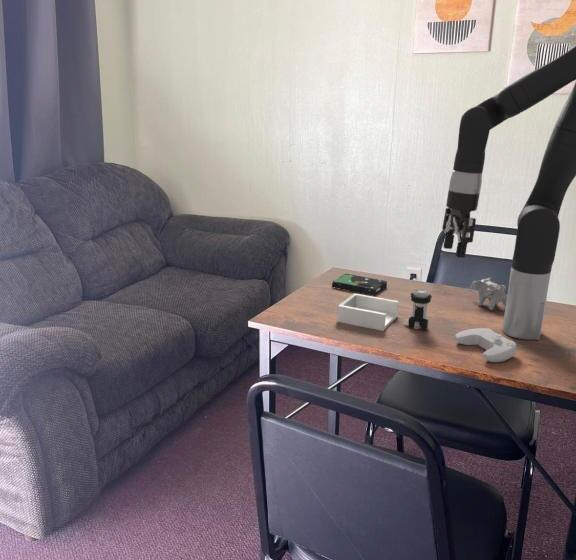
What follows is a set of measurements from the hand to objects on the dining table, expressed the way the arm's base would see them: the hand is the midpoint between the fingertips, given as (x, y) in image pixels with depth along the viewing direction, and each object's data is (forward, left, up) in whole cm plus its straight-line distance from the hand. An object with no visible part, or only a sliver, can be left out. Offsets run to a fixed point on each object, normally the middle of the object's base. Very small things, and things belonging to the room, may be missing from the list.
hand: (453, 252), depth 145 cm
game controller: (-12, +13, -20) cm, 27 cm away
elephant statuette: (-7, -22, -20) cm, 30 cm away
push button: (+6, +6, -20) cm, 22 cm away
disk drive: (+31, -18, -21) cm, 41 cm away
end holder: (+19, +7, -20) cm, 29 cm away
